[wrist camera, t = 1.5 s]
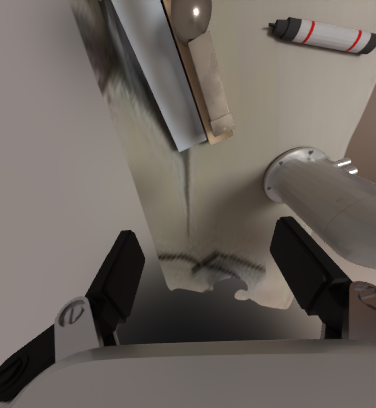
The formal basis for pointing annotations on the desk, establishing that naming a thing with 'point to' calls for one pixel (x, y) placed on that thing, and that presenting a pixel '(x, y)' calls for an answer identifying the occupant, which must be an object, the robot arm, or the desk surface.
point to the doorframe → (167, 70)
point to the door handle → (202, 59)
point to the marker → (325, 35)
